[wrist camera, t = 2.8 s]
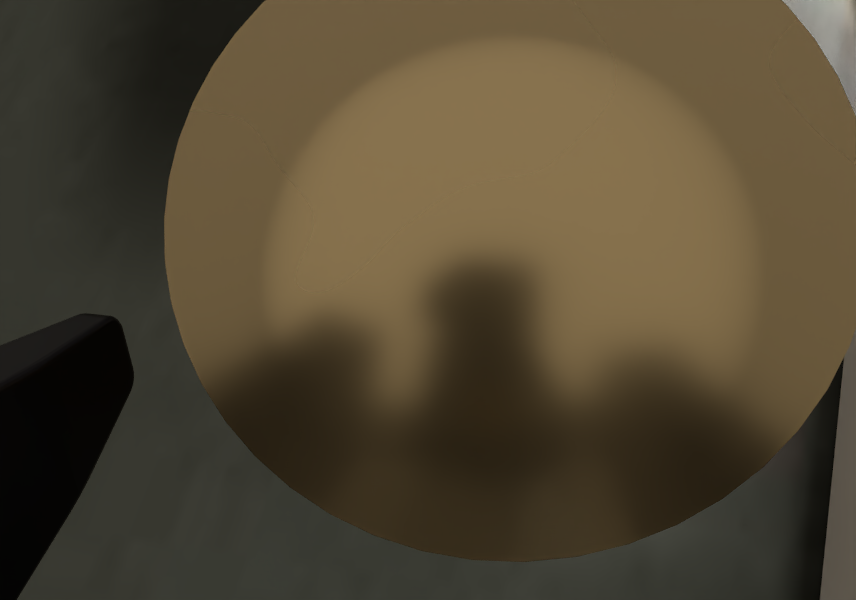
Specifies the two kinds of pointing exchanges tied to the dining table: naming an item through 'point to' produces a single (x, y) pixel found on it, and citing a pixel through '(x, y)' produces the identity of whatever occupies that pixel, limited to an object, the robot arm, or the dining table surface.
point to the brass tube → (515, 259)
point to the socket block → (843, 495)
